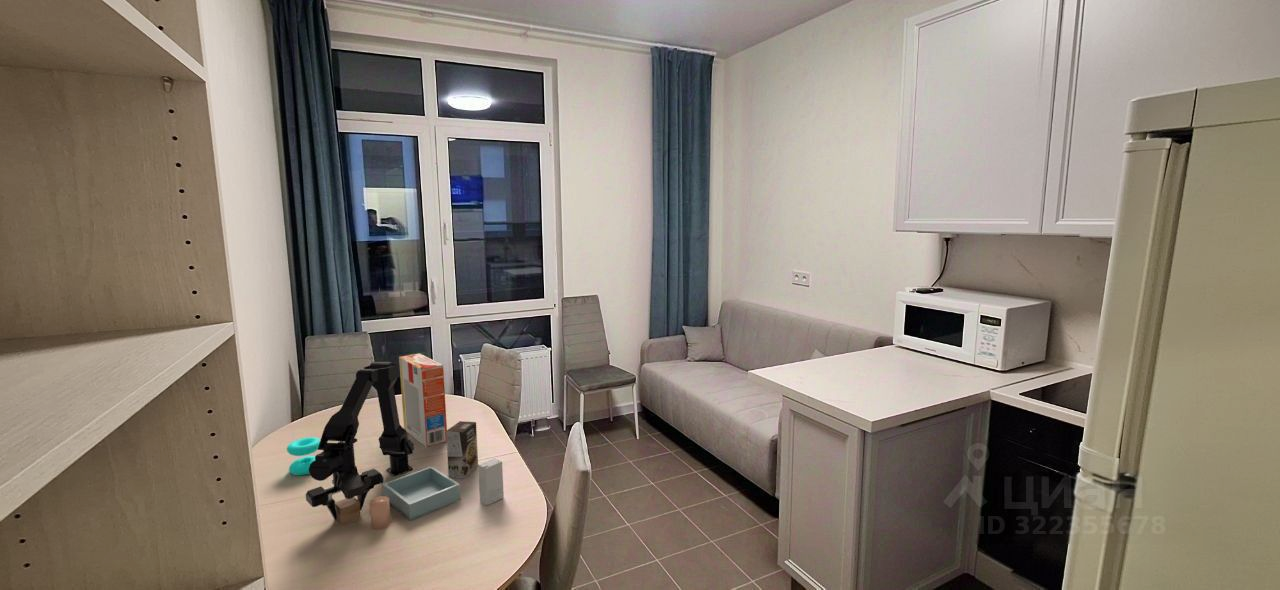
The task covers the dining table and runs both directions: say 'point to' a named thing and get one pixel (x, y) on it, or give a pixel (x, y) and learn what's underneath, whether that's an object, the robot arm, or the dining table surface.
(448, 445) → the coffee box
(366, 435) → the dining table surface
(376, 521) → the terracotta cylinder
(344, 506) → the walnut cube
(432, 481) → the tote
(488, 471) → the skincare box
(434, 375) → the pasta box
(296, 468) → the donuts
